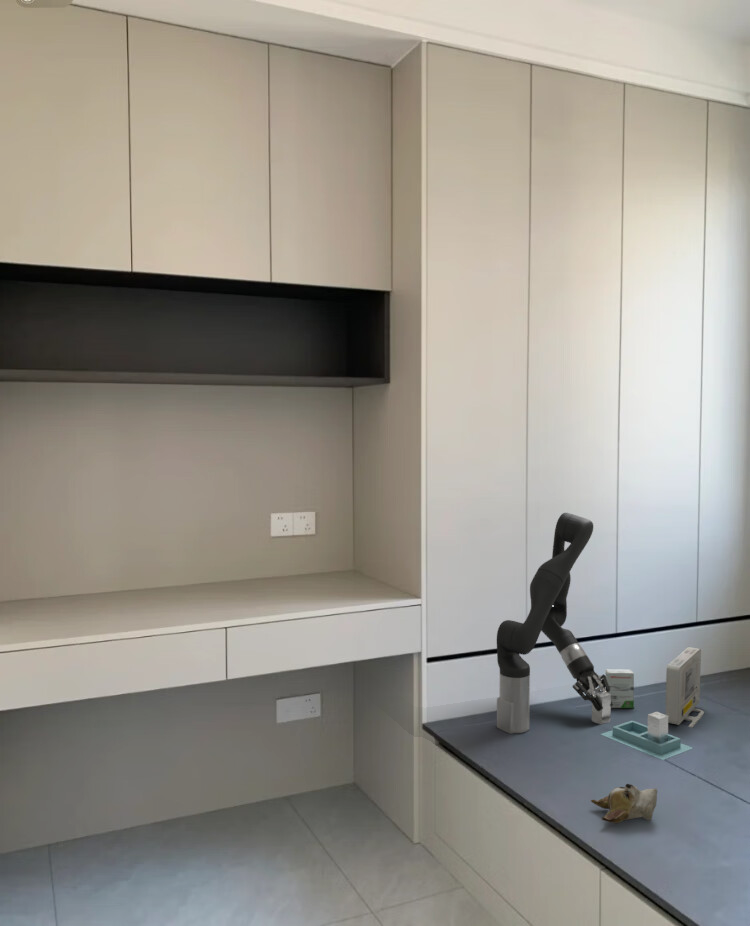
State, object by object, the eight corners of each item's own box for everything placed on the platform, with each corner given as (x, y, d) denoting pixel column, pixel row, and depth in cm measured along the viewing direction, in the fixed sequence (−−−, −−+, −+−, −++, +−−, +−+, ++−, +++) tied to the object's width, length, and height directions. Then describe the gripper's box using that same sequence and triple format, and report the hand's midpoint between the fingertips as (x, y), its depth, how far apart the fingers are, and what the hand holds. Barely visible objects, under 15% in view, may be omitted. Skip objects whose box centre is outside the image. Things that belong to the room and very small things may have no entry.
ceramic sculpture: (664, 792, 197) (601, 796, 197) (665, 828, 198) (602, 832, 198) (649, 772, 208) (589, 776, 208) (650, 806, 208) (590, 810, 208)
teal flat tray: (662, 765, 232) (662, 751, 232) (600, 739, 250) (600, 726, 250) (693, 753, 240) (693, 739, 240) (630, 728, 258) (630, 716, 258)
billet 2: (658, 749, 239) (659, 718, 238) (647, 744, 242) (647, 714, 241) (667, 746, 241) (668, 715, 240) (655, 741, 244) (656, 711, 244)
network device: (680, 703, 279) (682, 644, 278) (708, 709, 274) (709, 649, 273) (657, 727, 259) (659, 664, 257) (686, 734, 254) (688, 669, 252)
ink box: (631, 703, 280) (631, 668, 279) (634, 708, 275) (634, 673, 274) (604, 702, 280) (605, 667, 280) (607, 707, 276) (607, 672, 275)
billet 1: (601, 725, 261) (602, 697, 260) (591, 721, 264) (592, 693, 263) (610, 722, 263) (610, 694, 262) (600, 718, 266) (600, 690, 266)
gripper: (567, 658, 265) (597, 707, 255) (597, 650, 273) (627, 698, 264) (555, 670, 269) (583, 719, 260) (585, 662, 277) (613, 709, 268)
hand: (605, 708), depth 262 cm, fingers closed on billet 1, 4 cm apart
